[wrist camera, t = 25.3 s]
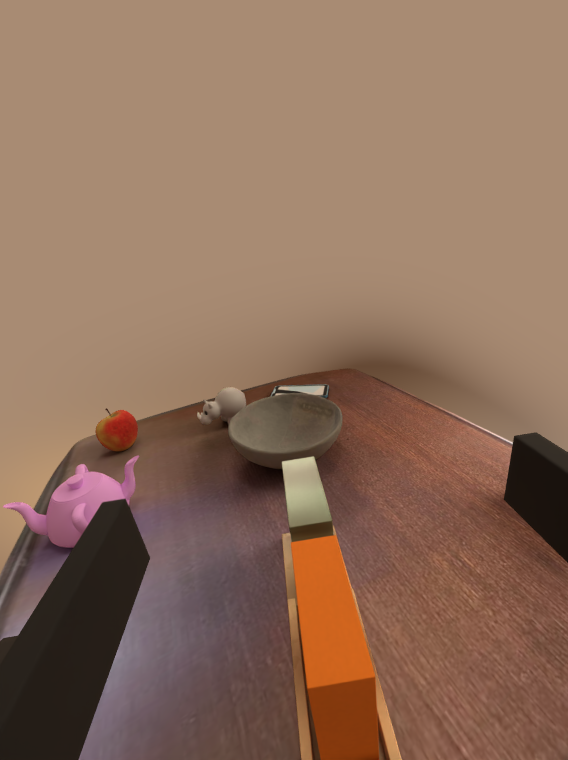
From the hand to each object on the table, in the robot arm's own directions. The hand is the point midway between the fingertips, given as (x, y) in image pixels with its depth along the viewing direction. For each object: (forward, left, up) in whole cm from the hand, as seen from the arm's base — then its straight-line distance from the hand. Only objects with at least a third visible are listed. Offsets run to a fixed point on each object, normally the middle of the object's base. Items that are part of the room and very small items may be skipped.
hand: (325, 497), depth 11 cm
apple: (+66, +10, -28) cm, 72 cm away
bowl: (+39, -18, -28) cm, 52 cm away
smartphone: (+60, -34, -28) cm, 75 cm away
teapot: (+44, +16, -28) cm, 55 cm away
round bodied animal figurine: (+59, -12, -28) cm, 67 cm away
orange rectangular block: (+6, -3, -27) cm, 28 cm away
